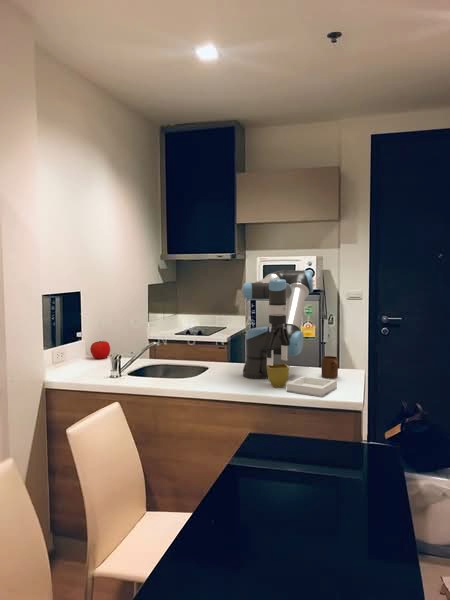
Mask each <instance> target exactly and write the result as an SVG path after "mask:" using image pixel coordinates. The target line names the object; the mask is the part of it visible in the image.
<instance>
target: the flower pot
mask: <svg viewBox="0 0 450 600" xmlns="http://www.w3.org/2000/svg"><path fill="white" fill-rule="evenodd" d="M266 367H267V375H268V378H267V379H268V381H269V383H270V385H271V386H272V388H277V387H279V388H280V387H283V388H284V387H286V386H287V383H288V381H289V380H288V379H289V371H290V366H288V364H287V363H273V366H271V365H267V364H266Z"/></svg>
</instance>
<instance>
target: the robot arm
mask: <svg viewBox="0 0 450 600" xmlns="http://www.w3.org/2000/svg"><path fill="white" fill-rule="evenodd" d="M312 273H313V272H312V271H311V270H304V269H302V270H300V269H299V270H294V269H293V270H291V269H290V270H289V269H288V270H287V269H286V270H282V269H281V270H278V271H274V272H271V273H269V274H266V276H265V277H264V278H262V279H260V280H258V281H256V282H245V283H243V286H242V295H243V296H242V297H243V298H245V300H246V299H247V300H268V314H269V315H268V323H269V324H271V326H260V327H259V326H257V327H252V328H250V329H248V330H246V338H245V342H246V343H245V345H246V347H245V350H246V354H245V355H246V359H245V362H244V366H243V369H242V377H245V378H248V379H257V380H258V379H260V380H262V379H269V378H268V375H267V367H266V364H267V365H271V366H273V364H274V356H280V357H281V359H280V360H281V361H288V357H294V356H299V355H300V354H301V352H302V350H303V347H304V340H305V338H304V332H303V331H302V330H301V327H300V325H301V319H302V315H303V309H304V304H305V300H306V298H308V296H309V294H311V293H313V292H314V281H313V280H314V279H313V274H312Z"/></svg>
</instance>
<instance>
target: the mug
mask: <svg viewBox="0 0 450 600" xmlns="http://www.w3.org/2000/svg"><path fill="white" fill-rule="evenodd" d="M338 372H339V359H338V357H337V356H333V355H325V356H322V357H321V377H322V379H328V378H329V380H334V379H337V378H338V376H339V375H338V374H339V373H338Z"/></svg>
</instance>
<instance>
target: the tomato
mask: <svg viewBox="0 0 450 600" xmlns="http://www.w3.org/2000/svg"><path fill="white" fill-rule="evenodd" d="M89 350H90V353H91V355H92V357H93V358H94V359H99V360H102V359H106V358H107V357H109V355H110V352H111V345H110V343H109V342H108V341H105V340H102V341H101V340H99V341H95V342H92V344H91V345H90V349H89Z"/></svg>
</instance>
